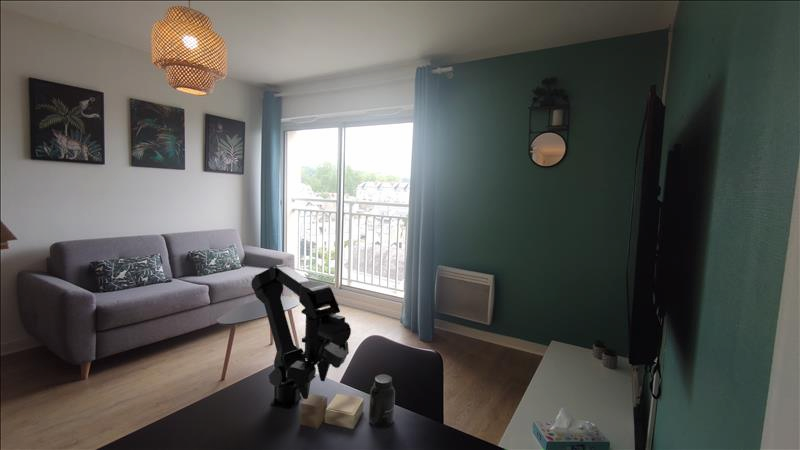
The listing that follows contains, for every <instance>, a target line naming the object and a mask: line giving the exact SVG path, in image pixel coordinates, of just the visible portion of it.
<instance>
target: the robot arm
mask: <svg viewBox="0 0 800 450" xmlns="http://www.w3.org/2000/svg"><path fill="white" fill-rule="evenodd" d="M250 283H251V289H252V290H253V292H254V295H255V297H256V299H258V300H259V301H260V302H261V303H262V304H263V306H264V309H265V312H266V315H267V320H268V324H269V327H270V330H271V334H272V338H273V342H274V345H275V349H276V354H275V357H274V360H273V366H274V369H273V370H272V371H271V372H270V373H269V374H268V379H269V384H271V385H273V386H274V390H273V393H274V394H273V398H274V399H272V400H271V402H270V405H272V406H278V407H282V408H285V409H286V408H287V409H291V408H292V407H293V406H294V405H296V403H297V402H298V401H299V400H300V399H303V400H305V399H307V398H308V396H309V395H310V393H309V392H310V388H311V382H313V380H314V379H315V378H316V372H317V371H318V375H319V379H320V382H325V380H326V378H327V376H328V371H329V369H330V365H331V366H332V367H333V368H336V369H339V368H340V367H341V366H342V365H343V364H344V363H345V361H346V358H347V356H348V355H349V353H350V351H349V350H350V348H349V342H348V340H349V338H350V336H351V335H352V334H351V333H352V328H351V325H350V324H349V323H348V322H346V317H345V316H342V315H338V314H339V313H340V312H341V309H340V307H339V306H340V304H339V303H338V300H337V299H336V296H335V293H334V292H333V290H332V287H330V285H328V284H326V283H323V282H319V281H311V280H310V279H308V278H307V277H305V276H303V274H300V273H299V272H297V271H296V270H295V269H293V268H291V266H290V265H289V264H286V263H282V264H275V265H272V266H270V267H269V268H268V269H266V270H264V271H262V272H260V273H258V274H255V275H254V277H253V278H252V280H251V282H250ZM284 287H286V288H287V289H289V290H290V291H291V292H293V293H294V294H295V295H297V296H298V300H299V303H300V304H301V305H302V306H303V307H304V308H303V309H302V310H301V314H304V315H305V328H304V329H305V331H304V335H305V336H303V337H301V343H304V349H303V348H302V347H301V348H299V347H297V346H296V345H295V343H294V340H293V336H292V333H291V330H290V326H289V323H288V320H287V316H286V313H285V309H284V305H283V303H282V295H283V291H284ZM316 366H317V367H316Z"/></svg>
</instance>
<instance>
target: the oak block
mask: <svg viewBox="0 0 800 450" xmlns="http://www.w3.org/2000/svg"><path fill="white" fill-rule="evenodd" d="M363 413H364V398H361V397H357V396H351V395H346V394H341V393H337V394H336V395H335V397H334V398H333V399H332V400H331V402H330V403H329V404H327V408H326V409H325V420H324V423H325V424H329V425H333V426H334V425H335V426H338V427H343V428H348V429H354V428H355V427H356V425H357V423H358V421H359V419H360V418H361V416H362V414H363Z"/></svg>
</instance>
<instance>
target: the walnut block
mask: <svg viewBox="0 0 800 450" xmlns="http://www.w3.org/2000/svg"><path fill="white" fill-rule="evenodd" d="M300 405H301V406H300V425H301V426H304V427H305V426H306V427H310V428H313V429H319V428H320V426H322V424H323V422H325V409H326V408H327V407H328V396H326V395H320V394H316V393H312V392H311V393H309V395H308V398H307V399H303V401H302V402H301V403H300Z"/></svg>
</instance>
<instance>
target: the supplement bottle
mask: <svg viewBox="0 0 800 450" xmlns="http://www.w3.org/2000/svg"><path fill="white" fill-rule="evenodd" d="M395 399H396V390H395V387H393V378H392V376H390V375H389V374H378V375H375V376H374V383H373V386H372V387H371V388H370V392H369V407H368V408H369V409H368V421H369V423H370V424H371V425H372V426H374V427H377V428H386V427H389V426H391V425H392V424H393V422H394V418H395V417H394V416H395V404H396V402H395V401H396V400H395Z"/></svg>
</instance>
